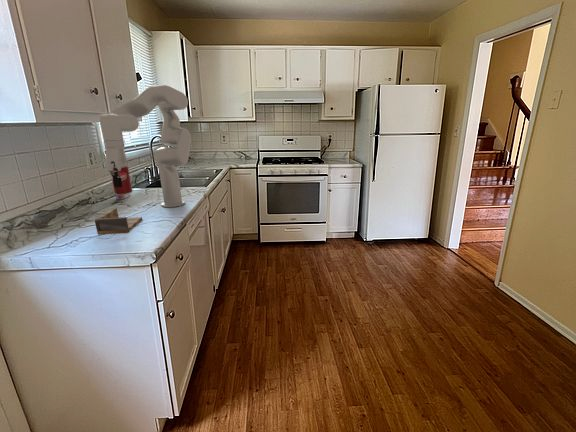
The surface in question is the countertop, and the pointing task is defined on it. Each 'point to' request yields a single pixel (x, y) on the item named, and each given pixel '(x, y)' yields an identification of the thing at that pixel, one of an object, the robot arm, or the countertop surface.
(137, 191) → the countertop surface
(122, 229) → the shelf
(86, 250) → the countertop surface
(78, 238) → the countertop surface
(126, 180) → the soda can
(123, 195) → the ink cartridge box
